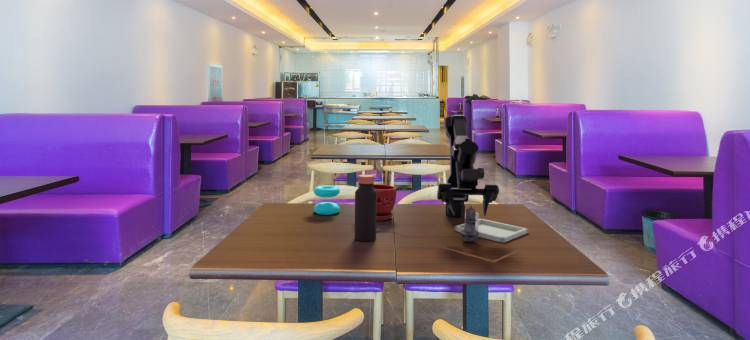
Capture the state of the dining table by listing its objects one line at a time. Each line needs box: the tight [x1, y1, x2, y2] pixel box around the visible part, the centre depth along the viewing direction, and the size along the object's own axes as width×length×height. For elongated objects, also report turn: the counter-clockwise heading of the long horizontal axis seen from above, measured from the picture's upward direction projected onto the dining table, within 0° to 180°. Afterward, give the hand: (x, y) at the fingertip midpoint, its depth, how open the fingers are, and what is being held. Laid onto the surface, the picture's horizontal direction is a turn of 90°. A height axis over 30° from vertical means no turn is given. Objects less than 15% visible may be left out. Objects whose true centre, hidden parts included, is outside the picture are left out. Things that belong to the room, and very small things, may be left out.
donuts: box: [313, 184, 341, 216], centre depth 175 cm, size 10×10×10 cm
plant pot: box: [373, 183, 397, 222], centre depth 168 cm, size 13×13×12 cm
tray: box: [453, 218, 529, 244], centre depth 151 cm, size 18×16×2 cm
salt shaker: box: [459, 205, 480, 244], centre depth 138 cm, size 6×6×12 cm
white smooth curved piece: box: [464, 211, 480, 231], centre depth 151 cm, size 4×4×6 cm
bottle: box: [354, 174, 377, 243], centre depth 141 cm, size 7×7×20 cm
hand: (469, 214), depth 139 cm, fingers open, 9 cm apart
